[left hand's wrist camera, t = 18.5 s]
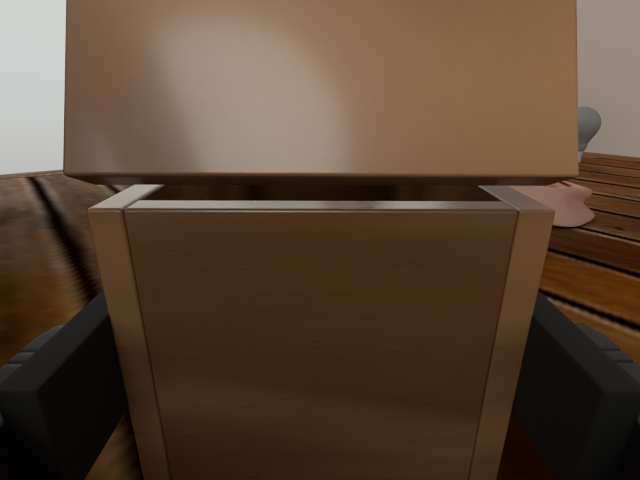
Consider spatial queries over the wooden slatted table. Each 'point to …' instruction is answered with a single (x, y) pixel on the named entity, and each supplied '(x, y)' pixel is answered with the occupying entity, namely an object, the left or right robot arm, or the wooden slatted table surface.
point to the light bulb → (586, 127)
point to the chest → (320, 326)
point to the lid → (321, 92)
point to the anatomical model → (562, 202)
